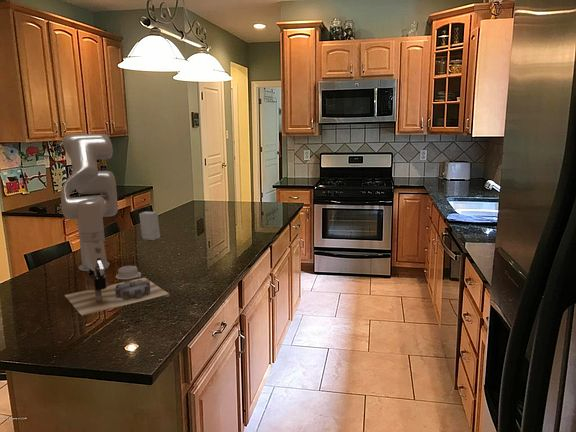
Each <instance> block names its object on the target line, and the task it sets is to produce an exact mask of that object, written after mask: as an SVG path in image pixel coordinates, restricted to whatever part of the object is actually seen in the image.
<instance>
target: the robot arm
mask: <svg viewBox="0 0 576 432" xmlns="http://www.w3.org/2000/svg"><path fill="white" fill-rule="evenodd" d="M61 140H62V146H63V149H64V151H65V153H66V154H67V156H68V158H69V159H70V161H71V169H72V174H71V175H70V176H68V177H67V179H66V180H65V181H64V183H63V185H62V187H61V189H60V190H61V191H60V199H61V201H60V202H61V212H62V214H63V217H65V219H67V220H76V222H77V229H78V239H79V246H80V255H81V258H80V259H81V264H80V265H78V270H79V271H81V272H87V273H88V276H91V275H94V274H95V277H96V279H95V286H96V290H102V289H105V288H106V283H105V274H106V273H105V270H107V269H108V268H109V267H110V264H111V263H110V262H109V261H107V253H106V248H105V240H106V238H105V227H104V218H108V217H114V216H116V215H117V214H118V210H119V205H118V203H119V201H118V193H117V183H116V177H115V175H114V173H113V172H112V171H111V170H99V169H98V162H97V160H109V159H111V158H112V157H113V154H114V152H113V151H114V149H113V143H112V141H111V139H110V137H109V135H108V134H106V133H73V134H67V135H65V136H64V137H63V138H62V139H61ZM75 190H76V193H78V194H80V195H84V196H79V197H78V196H77V197H76V196H75V197H74V196H73V197H70V196H71V194H72V192H73V191H75ZM95 194H97V195H95ZM98 194H99V195H98ZM85 195H86V196H85ZM97 274H98V275H97Z"/></svg>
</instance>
